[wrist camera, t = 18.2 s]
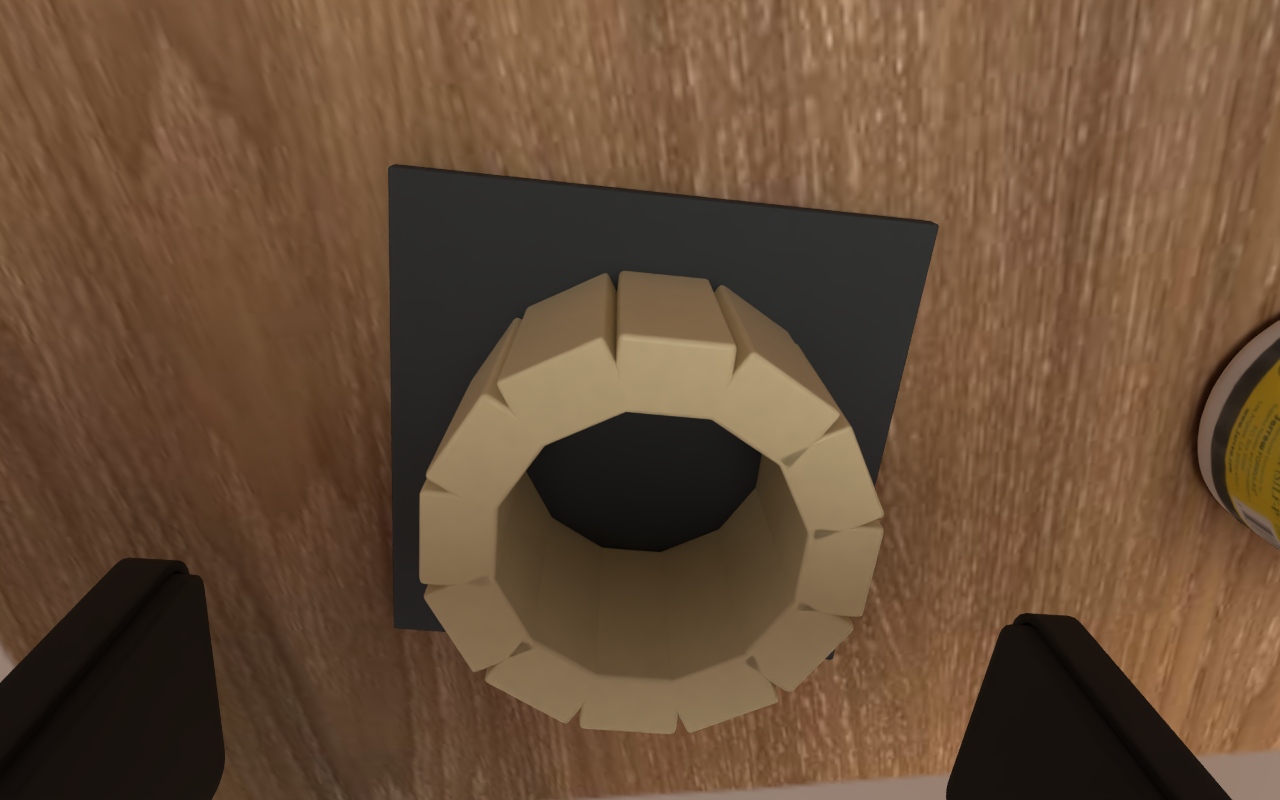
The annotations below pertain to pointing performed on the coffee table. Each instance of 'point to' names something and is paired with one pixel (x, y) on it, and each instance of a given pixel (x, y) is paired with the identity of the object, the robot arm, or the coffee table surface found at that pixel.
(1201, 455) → the supplement bottle
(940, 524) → the coffee table surface
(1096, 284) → the coffee table surface
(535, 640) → the segmented block ring
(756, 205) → the mat
